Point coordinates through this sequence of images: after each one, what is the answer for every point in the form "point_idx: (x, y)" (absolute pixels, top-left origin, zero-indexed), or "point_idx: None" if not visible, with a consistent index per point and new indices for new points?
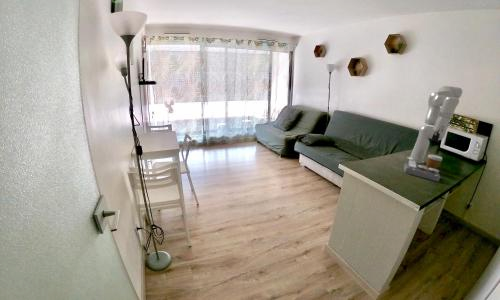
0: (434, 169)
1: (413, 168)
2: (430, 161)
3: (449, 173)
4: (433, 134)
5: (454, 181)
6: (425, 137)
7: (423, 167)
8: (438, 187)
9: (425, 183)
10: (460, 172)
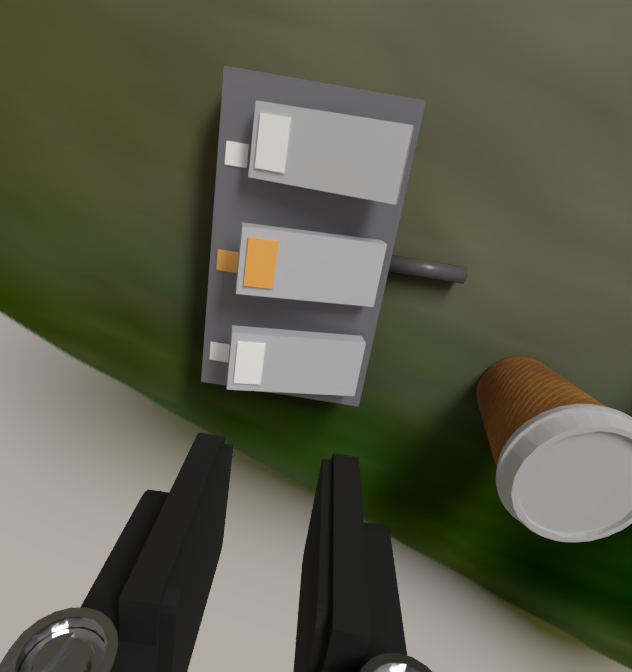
0: (236, 353)
1: None
2: (520, 405)
3: (512, 525)
4: (336, 626)
5: None
6: None
7: (239, 250)
8: (67, 313)
9: (72, 223)
10: (592, 614)
